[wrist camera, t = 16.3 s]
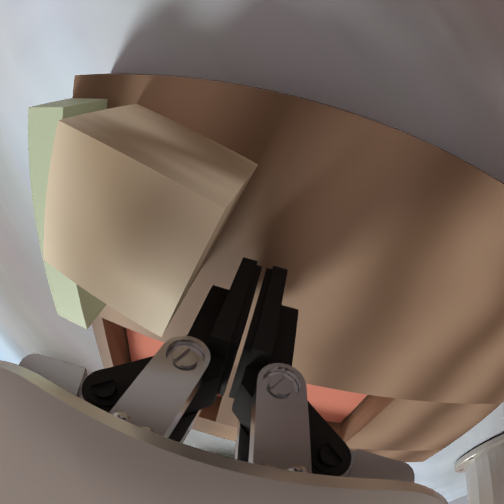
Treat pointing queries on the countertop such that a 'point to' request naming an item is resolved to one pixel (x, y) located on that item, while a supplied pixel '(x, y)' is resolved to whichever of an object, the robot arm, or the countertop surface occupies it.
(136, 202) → the birch block
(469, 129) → the countertop surface
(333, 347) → the board
